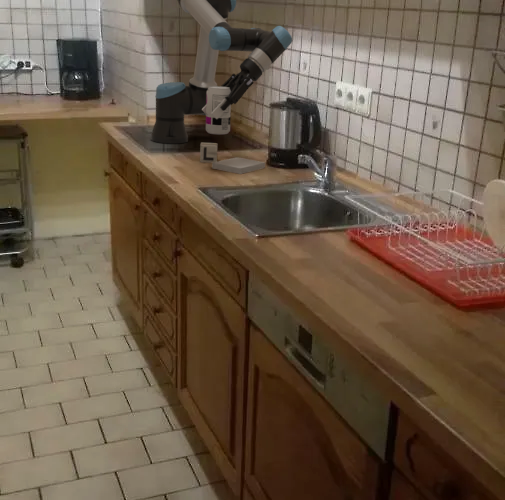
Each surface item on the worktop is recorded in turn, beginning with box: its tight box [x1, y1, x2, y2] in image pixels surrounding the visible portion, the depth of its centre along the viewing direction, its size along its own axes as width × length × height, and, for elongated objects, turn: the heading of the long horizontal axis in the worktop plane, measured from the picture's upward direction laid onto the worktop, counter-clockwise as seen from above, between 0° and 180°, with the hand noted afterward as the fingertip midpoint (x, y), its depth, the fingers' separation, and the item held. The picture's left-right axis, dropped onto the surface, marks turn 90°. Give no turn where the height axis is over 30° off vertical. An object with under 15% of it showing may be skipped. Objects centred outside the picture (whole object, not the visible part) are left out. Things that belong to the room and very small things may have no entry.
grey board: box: [211, 156, 266, 175], centre depth 236 cm, size 15×12×2 cm
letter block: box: [199, 142, 218, 164], centre depth 245 cm, size 6×6×6 cm
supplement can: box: [205, 85, 232, 135], centre depth 227 cm, size 8×8×15 cm
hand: (209, 114), depth 226 cm, fingers closed on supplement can, 8 cm apart
